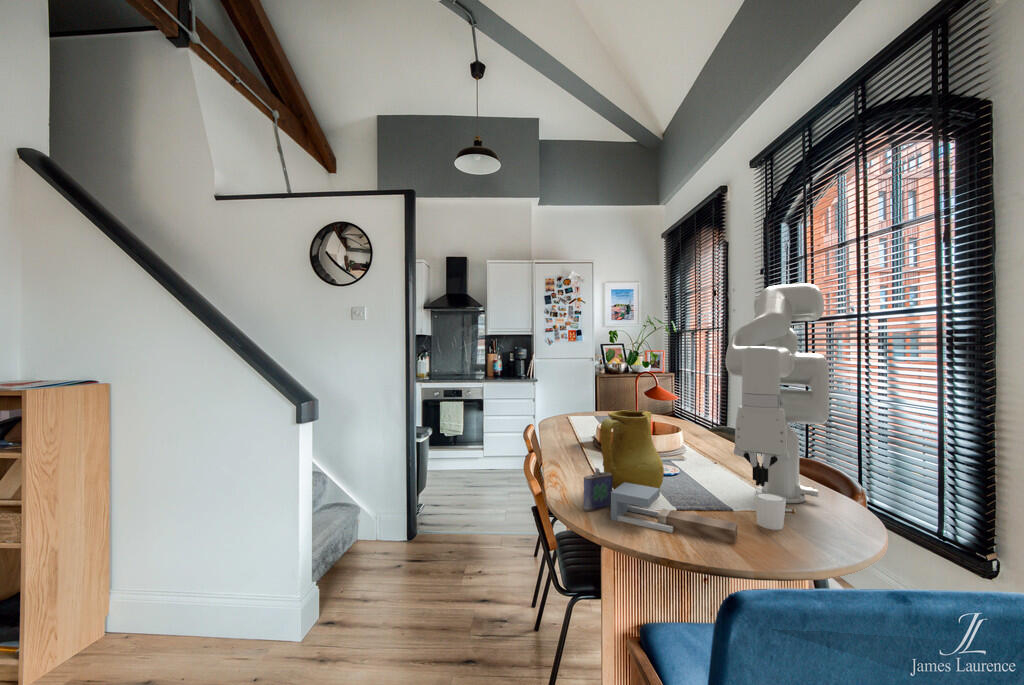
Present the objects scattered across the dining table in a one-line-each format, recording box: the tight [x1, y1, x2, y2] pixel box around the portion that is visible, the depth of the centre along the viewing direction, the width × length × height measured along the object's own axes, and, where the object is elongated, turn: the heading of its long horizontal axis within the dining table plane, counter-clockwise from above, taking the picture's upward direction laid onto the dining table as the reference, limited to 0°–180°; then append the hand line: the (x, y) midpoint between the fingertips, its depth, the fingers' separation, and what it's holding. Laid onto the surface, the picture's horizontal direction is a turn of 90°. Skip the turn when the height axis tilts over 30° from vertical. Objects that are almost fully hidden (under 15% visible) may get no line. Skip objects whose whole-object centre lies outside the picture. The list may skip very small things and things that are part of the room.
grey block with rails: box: [610, 482, 674, 534], centre depth 114 cm, size 15×10×7 cm, turn 57°
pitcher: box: [599, 409, 665, 491], centre depth 132 cm, size 17×19×25 cm
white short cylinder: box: [754, 493, 787, 531], centre depth 111 cm, size 7×7×7 cm
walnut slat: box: [657, 508, 738, 544], centre depth 107 cm, size 17×5×3 cm, turn 57°
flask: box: [583, 467, 613, 513], centre depth 122 cm, size 9×3×11 cm, turn 117°
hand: (760, 484), depth 99 cm, fingers closed
